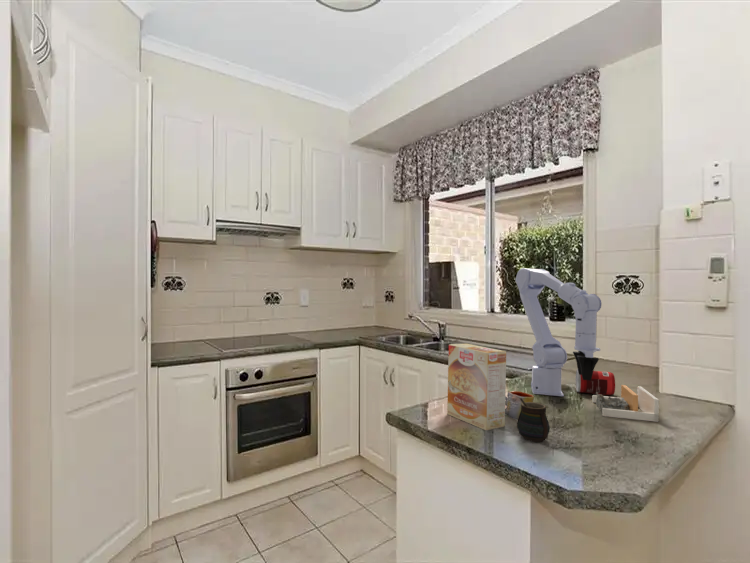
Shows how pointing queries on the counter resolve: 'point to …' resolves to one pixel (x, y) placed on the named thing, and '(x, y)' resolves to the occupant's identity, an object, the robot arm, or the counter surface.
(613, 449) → the counter surface
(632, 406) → the pusher plate
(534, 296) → the robot arm
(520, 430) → the mate gourd
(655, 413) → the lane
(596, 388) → the canned food
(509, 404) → the mug
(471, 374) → the coffeecake box
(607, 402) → the egg carton
